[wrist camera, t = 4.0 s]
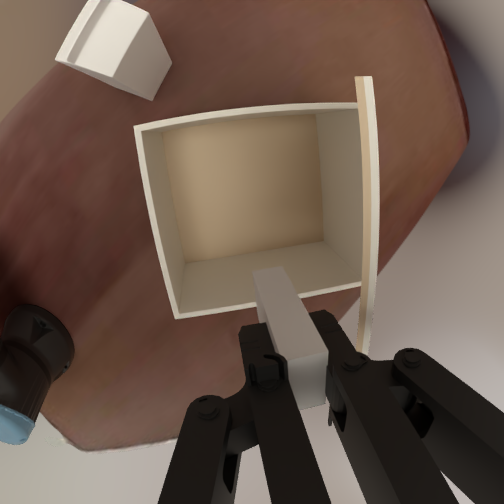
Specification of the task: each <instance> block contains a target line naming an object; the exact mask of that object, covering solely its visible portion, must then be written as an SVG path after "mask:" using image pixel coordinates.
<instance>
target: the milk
mask: <svg viewBox="0 0 504 504" xmlns="http://www.w3.org/2000/svg"><path fill="white" fill-rule="evenodd" d="M55 60H56V61H58V62H60V63H63V64H65V65H67V66H70V67H72V68H74V69H77V70H79V71H81V72H83V73H85V74H88V75H90V76H92V77H94V78H96V79H99V80H101V81H103V82H105V83H107V84H109V85H111V86H113V87H115V88H118V89H121V90H124V91H126V92H129V93H132V94H135V95H137V96H140V97H143V98H145V99H148V100H150V101H153V99H154V97H155V95H156V93H157V91H158V89H159V87H160V85H161V83H162V81H163V80H164V78H165V76H166V74H167V72H168V70H169V68H170V67H171V65H172V61H171V59H170V57H169V55H168V53H167V50H166V48H165V46H164V44H163V42H162V40H161V38H160V36H159V33H158V31H157V29H156V27H155V25H154V23H153V21H152V19H151V16H150V14H149V13H148V12H146V11H144V10H142V9H140V8H138V7H136V6H133V5H131V4H129V3H127V2H124V1H122V0H88V2H87V3H86V5H85V6H84V8H83V9H82V11H81V13H80V14H79V16H78V18H77V19H76V21H75V23H74V24H73V26H72V28H71V30H70V31H69V33H68V35H67V37H66V39H65V41H64V42H63V44H62V46H61V48H60V50H59V52H58V54H57V56H56V58H55Z"/></svg>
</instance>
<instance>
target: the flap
mask: <svg viewBox="0 0 504 504" xmlns="http://www.w3.org/2000/svg"><path fill="white" fill-rule="evenodd" d="M355 84H356V92H357V102H358V112H359V123H360V137H361V153H362V175H363V258H362V281H361V297H360V311H359V323H358V333H357V344H356V351H357V352H361V353H363V354H366V355H367V356H368V349H369V343H370V336H371V328H372V320H373V309H374V300H375V290H376V277H377V262H378V242H379V156H378V137H377V122H376V110H375V100H374V90H373V82H372V76H361V77H355Z"/></svg>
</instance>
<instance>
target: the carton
mask: <svg viewBox="0 0 504 504" xmlns="http://www.w3.org/2000/svg"><path fill="white" fill-rule="evenodd" d="M134 132H135V139H136V145H137V152H138V158H139V164H140V170H141V175H142V181H143V186H144V192H145V197H146V202H147V207H148V212H149V217H150V221H151V226H152V231H153V235H154V240H155V244H156V248H157V253H158V257H159V261H160V265H161V269H162V273H163V277H164V281H165V285H166V289H167V292H168V296H169V300H170V303H171V307H172V311H173V314H174V318H175V319H181V318H188V317H194V316H201V315H208V314H214V313H220V312H227V311H233V310H239V309H245V308H250V307H256V306H257V305H256V297H255V290H254V282H253V274H252V271H255V270H261V269H267V268H273V267H279V266H283V268H284V270H285V272H286V274H287V275H288V277H289V279H290V281H291V283H292V285H293V286H294V288H295V290H296V292H297V294H298V296H299V297H300V298H305V297H310V296H315V295H320V294H324V293H329V292H334V291H339V290H343V289H348V288H353V287H357V286H361V281H362V258H363V175H362V153H361V137H360V123H359V112H358V103H302V104H283V105H269V106H257V107H246V108H237V109H229V110H221V111H213V112H206V113H200V114H193V115H187V116H181V117H176V118H170V119H165V120H160V121H155V122H150V123H145V124H141V125H136V126H134Z"/></svg>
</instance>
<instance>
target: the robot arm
mask: <svg viewBox="0 0 504 504" xmlns="http://www.w3.org/2000/svg"><path fill="white" fill-rule="evenodd" d="M252 274H253V282H254V290H255V297H256V305H257V313H258V319H259V322H260V323H258V324H252V325H247V326H242V327H241V330H240V332H239V334H238V336H239V342H240V347H241V353H242V358H243V364H244V370H245V376H246V382H245V385H244V386H243V388H242V389H241V390H240V391H239V392H238V393H236V394H234V395H232V396H230V397H228V398H225V399H223V398H221V397H220V396H215V395H206V396H202V397H199V398H197V399H195V400H194V401H193V402H192V403H191V404H190V405H189V407H188V409H187V412H186V415H185V418H184V421H183V424H182V427H181V430H180V434H179V437H178V440H177V443H176V446H175V450H174V452H173V456H172V459H171V462H170V465H169V468H168V472H167V475H166V478H165V481H164V485H163V488H162V491H161V494H160V497H159V501H158V504H234V499H235V493H236V486H237V480H238V473H239V467H240V460H241V454H242V452H243V451H245V450H247V449H249V448H252V447H254V446H256V445H258V444H259V447H260V452H261V457H262V461H263V466H264V471H265V475H266V480H267V485H268V489H269V494H270V498H271V502H272V504H331V501H330V498H329V495H328V493H327V490H326V487H325V484H324V481H323V478H322V475H321V472H320V469H319V467H318V464H317V461H316V458H315V455H314V452H313V449H312V446H311V444H310V441H309V438H308V435H307V432H306V429H305V426H304V423H303V420H302V417H301V414H300V411H299V410H303V409H307V408H311V407H315V406H319V405H323V404H325V401H326V397H327V399H328V401H329V403H330V407H329V418H328V425H329V426H331V425H332V421H333V423H334V426H335V428H336V430H337V433H338V435H339V438H340V440H341V442H342V445H343V447H344V450H345V452H346V454H347V457H348V459H349V462H350V464H351V466H352V469H353V471H354V474H355V476H356V478H357V481H358V483H359V486H360V488H361V491H362V493H363V495H364V498H365V500H366V503H367V504H459V503H458V501H457V499H456V497H455V496H454V494H453V492H452V490H451V489H450V487H449V485H448V483H447V482H446V480H445V478H444V477H443V475H442V473H443V474H445V476H447V477H448V478H449V479H450V480H451V481H452V482H453V483H454V484H455V485H456V486H457V487H458V488H459V489H460V490H461V491H462V492H463V493H464V494H465V495H466V496H467V497H468V498H469V499H470V500H472V501H473V502H474V503H475V504H504V413H503V412H502V411H501V410H499V409H498V408H497V407H495V406H494V405H493V404H492V403H490V402H489V401H487V400H486V399H485V398H484V397H482V396H481V395H480V394H478V393H477V392H476V391H475V390H473V389H472V388H471V387H470V386H468V385H467V384H465V383H464V382H462V380H460V379H459V378H458V377H456V376H455V375H454V374H452V373H451V372H449V371H448V370H447V369H446V368H444V367H443V366H442V365H440V364H439V363H438V362H437V361H435V360H434V359H433V358H431V357H430V356H428V355H427V354H426V353H424V352H423V351H421V350H419V349H414V348H405V349H402V350H400V351H398V352H397V353H396V354H395V356H394V360H384V361H374V360H371V359H370V358H369V357H368V356H367V355H366V354H363V353H361V352H357V351H356V350H355V348H354V346H353V345H352V343H351V342H350V340H349V339H348V337H347V336H346V334H345V332H344V331H343V330H342V328H341V326H340V325H339V324H338V322H337V320H336V319H335V317H334V316H333V315H332V314H331V313H329V312H327V311H326V310H321V311H316V312H311V313H308V312H307V310H306V308H305V307H304V305H303V303H302V301H301V299H300V297H299V296H298V294H297V292H296V290H295V288H294V286H293V285H292V283H291V281H290V279H289V277H288V275H287V274H286V272H285V270H284V268H283V266H279V267H273V268H267V269H261V270H255V271H252ZM73 357H74V345H73V342H72V339H71V337H70V335H69V333H68V331H67V330H66V328H65V327H64V326H63V325H62V323H61V322H60V321H59V320H58V319H57V318H56V317H54V316H53V315H52V314H51V313H49V312H48V311H46V310H44V309H42V308H40V307H38V306H34V305H28V304H25V305H20V306H17V307H16V308H14V309H13V311H12V312H11V313H10V314H9V315H8V317H7V318H6V321H5V324H4V329H3V332H2V335H1V338H0V441H2V442H5V443H8V444H13V445H20V444H23V443H25V442H26V441H27V439H28V438H29V435H30V434H31V432H32V430H33V428H34V427H35V422H36V419H37V417H38V414H39V412H40V409H41V407H42V404H43V402H44V399H45V397H46V395H47V392H48V390H49V388H50V386H51V384H52V383H53V382H54V381H55V380H56V379H58V378H59V377H60V376H61V375H62V374H63V373H65V372H66V371H67V369H68V368H69V366H70V364H71V362H72V360H73ZM441 472H442V473H441Z"/></svg>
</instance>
